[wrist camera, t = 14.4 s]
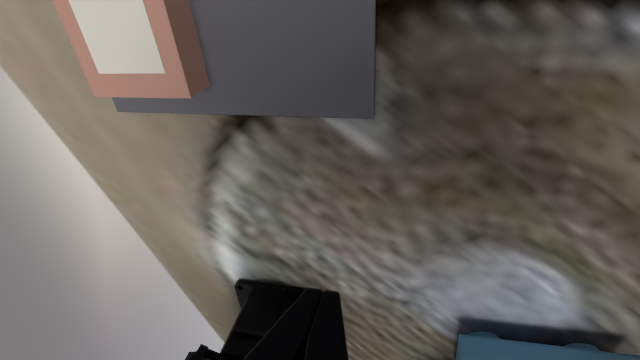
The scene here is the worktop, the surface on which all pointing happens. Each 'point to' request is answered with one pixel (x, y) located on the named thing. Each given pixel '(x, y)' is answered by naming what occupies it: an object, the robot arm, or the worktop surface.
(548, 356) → the teapot
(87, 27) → the card box
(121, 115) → the worktop surface
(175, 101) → the mat
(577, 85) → the worktop surface
